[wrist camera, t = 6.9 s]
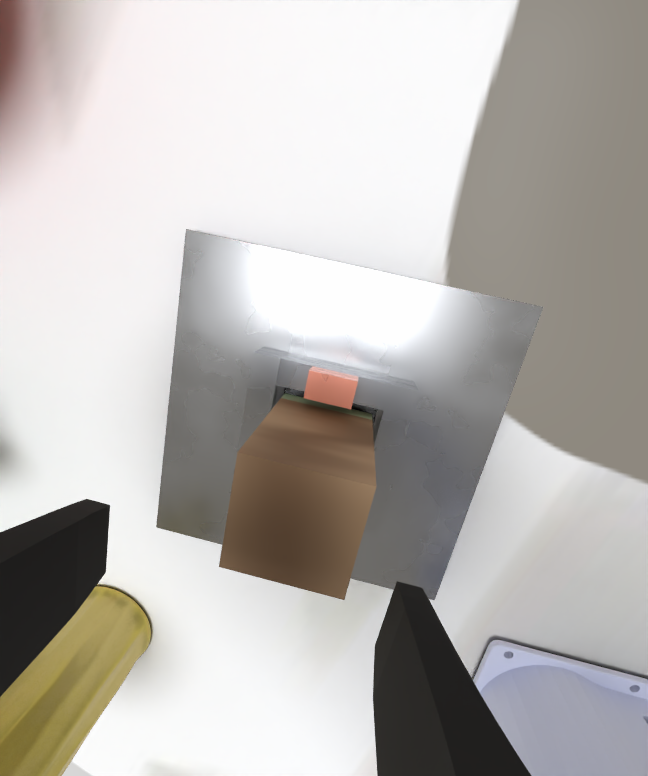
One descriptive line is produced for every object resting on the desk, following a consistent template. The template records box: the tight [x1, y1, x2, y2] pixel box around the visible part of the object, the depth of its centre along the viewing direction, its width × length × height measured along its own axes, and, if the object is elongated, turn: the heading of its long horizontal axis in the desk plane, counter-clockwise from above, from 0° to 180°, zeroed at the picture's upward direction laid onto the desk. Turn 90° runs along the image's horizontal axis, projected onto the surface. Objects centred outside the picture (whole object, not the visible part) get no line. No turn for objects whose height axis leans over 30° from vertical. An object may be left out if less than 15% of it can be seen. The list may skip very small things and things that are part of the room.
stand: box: [156, 229, 543, 600], centre depth 17 cm, size 16×16×4 cm
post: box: [219, 393, 376, 600], centre depth 14 cm, size 4×4×6 cm
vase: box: [0, 586, 151, 776], centre depth 17 cm, size 6×6×14 cm
